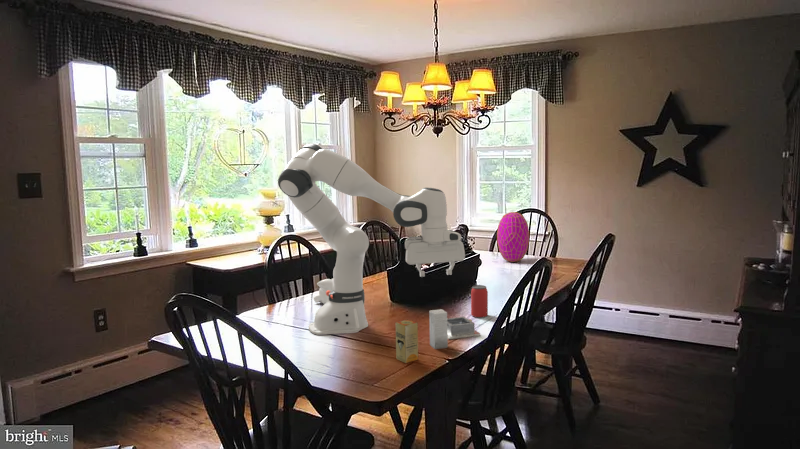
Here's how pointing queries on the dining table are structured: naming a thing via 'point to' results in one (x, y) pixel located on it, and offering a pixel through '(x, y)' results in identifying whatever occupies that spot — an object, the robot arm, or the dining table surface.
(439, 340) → the white rectangular block
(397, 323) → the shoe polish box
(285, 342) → the dining table surface
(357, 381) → the dining table surface
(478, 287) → the beer can
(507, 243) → the decorative egg
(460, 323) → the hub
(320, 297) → the fox head
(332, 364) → the dining table surface
